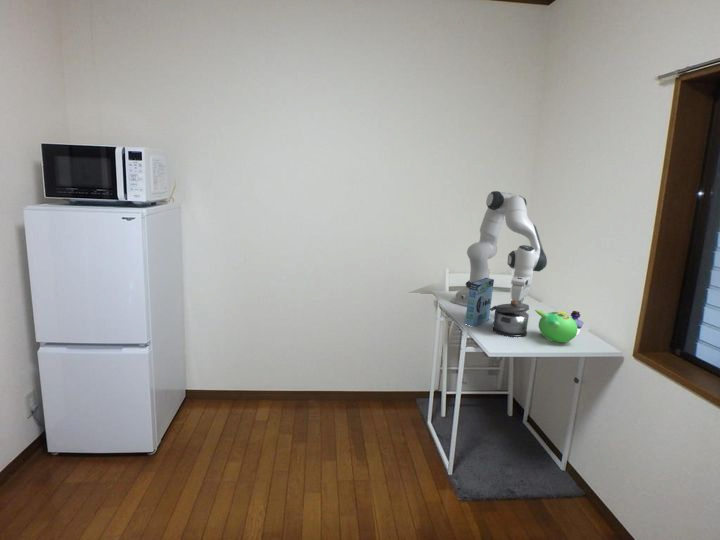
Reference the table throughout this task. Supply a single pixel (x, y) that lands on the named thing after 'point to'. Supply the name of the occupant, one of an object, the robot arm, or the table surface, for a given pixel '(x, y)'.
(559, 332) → the toy bird
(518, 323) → the cooker pot
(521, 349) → the table surface
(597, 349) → the table surface
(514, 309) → the lid
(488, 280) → the gum box
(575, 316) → the potion bottle
